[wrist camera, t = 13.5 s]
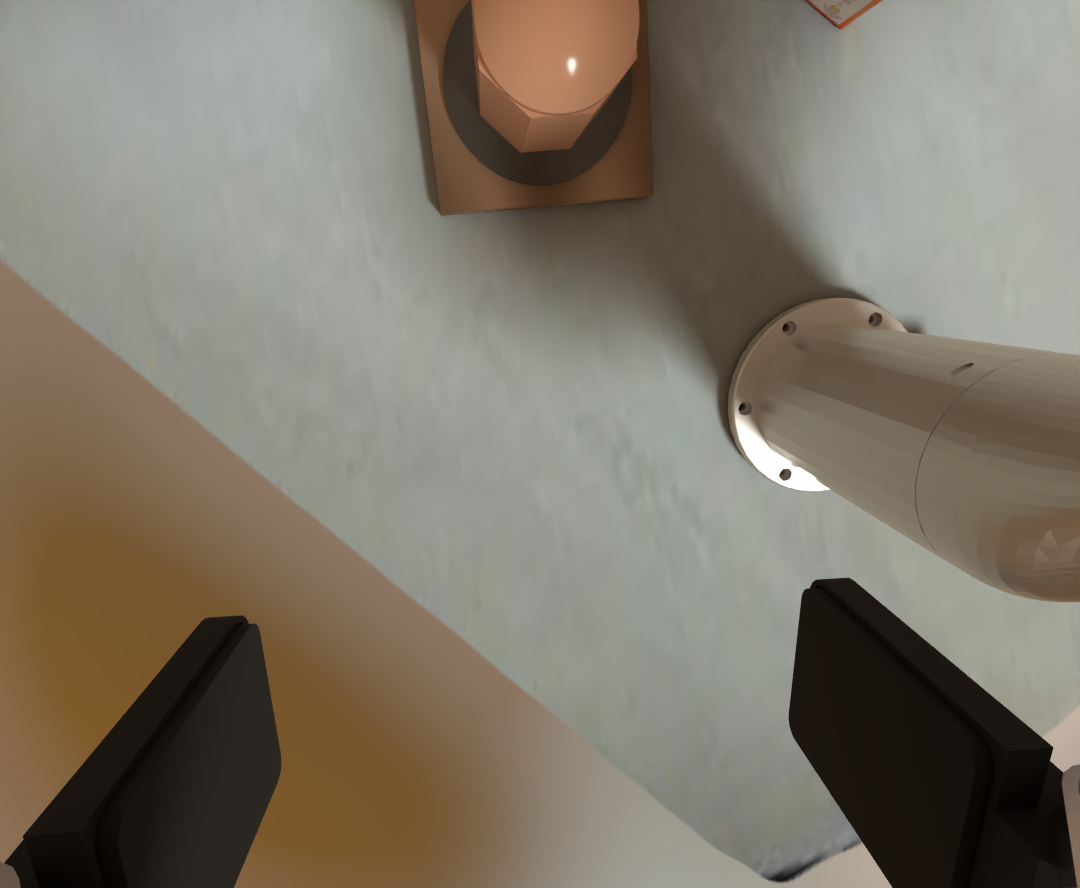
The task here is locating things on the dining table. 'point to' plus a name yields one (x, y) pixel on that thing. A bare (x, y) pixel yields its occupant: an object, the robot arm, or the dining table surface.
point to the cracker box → (843, 9)
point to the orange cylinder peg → (550, 65)
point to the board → (499, 168)
